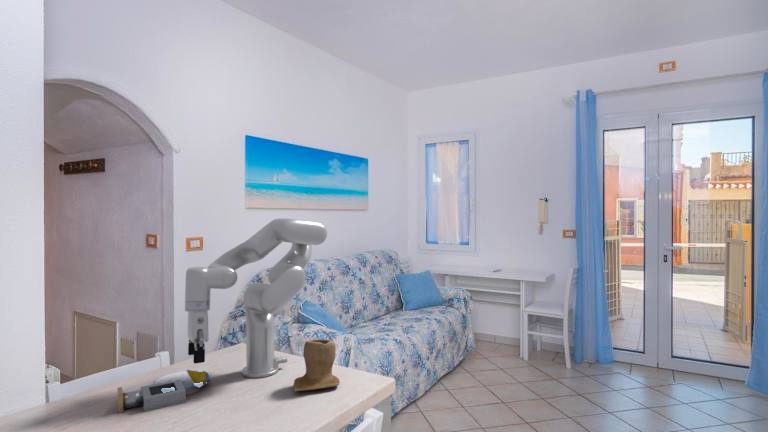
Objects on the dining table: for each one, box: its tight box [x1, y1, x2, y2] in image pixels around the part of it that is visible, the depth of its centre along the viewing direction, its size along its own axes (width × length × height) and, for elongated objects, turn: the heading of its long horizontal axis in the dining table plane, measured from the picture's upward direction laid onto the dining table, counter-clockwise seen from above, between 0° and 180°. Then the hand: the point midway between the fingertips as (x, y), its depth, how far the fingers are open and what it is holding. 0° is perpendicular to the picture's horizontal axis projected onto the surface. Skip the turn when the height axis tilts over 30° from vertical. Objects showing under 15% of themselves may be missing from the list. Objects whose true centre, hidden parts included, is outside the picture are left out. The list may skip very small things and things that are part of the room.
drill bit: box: [186, 369, 211, 387], centre depth 141 cm, size 5×5×10 cm
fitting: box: [116, 378, 187, 414], centre depth 130 cm, size 17×11×6 cm, turn 123°
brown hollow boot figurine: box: [293, 338, 341, 392], centre depth 142 cm, size 15×12×15 cm
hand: (196, 358), depth 141 cm, fingers open, 9 cm apart
